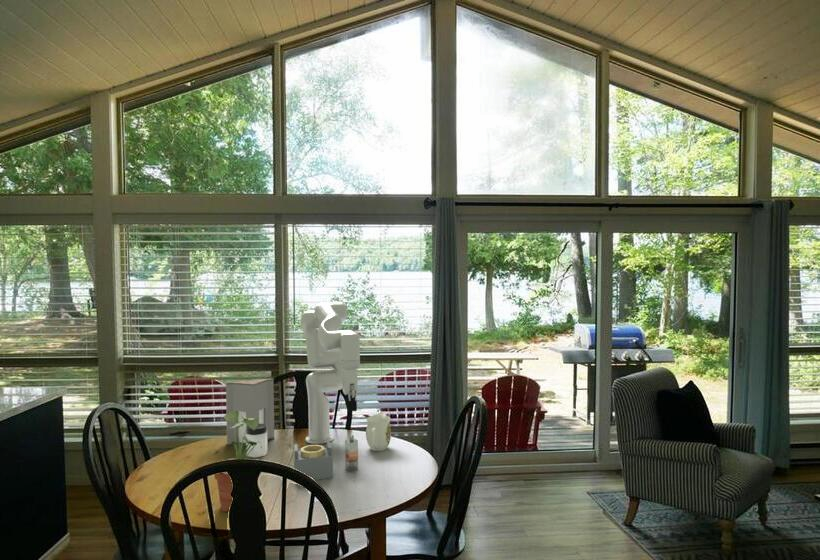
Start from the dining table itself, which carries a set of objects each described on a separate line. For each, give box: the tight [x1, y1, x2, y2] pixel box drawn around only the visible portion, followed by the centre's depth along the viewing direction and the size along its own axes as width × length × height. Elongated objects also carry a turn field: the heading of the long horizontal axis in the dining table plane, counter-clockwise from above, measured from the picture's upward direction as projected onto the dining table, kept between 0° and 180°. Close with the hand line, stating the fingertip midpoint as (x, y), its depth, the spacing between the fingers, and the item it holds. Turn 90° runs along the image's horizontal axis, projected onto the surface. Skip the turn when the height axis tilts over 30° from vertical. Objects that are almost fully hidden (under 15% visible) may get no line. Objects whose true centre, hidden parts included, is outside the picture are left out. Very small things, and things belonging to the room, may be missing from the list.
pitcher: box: [365, 412, 392, 452], centre depth 224 cm, size 11×18×14 cm, turn 169°
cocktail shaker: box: [344, 434, 359, 472], centre depth 201 cm, size 5×5×13 cm
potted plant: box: [214, 412, 261, 512], centre depth 171 cm, size 16×15×35 cm
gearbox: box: [293, 441, 334, 481], centre depth 196 cm, size 10×14×11 cm
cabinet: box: [225, 378, 275, 447], centre depth 234 cm, size 21×10×28 cm, turn 114°
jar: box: [245, 424, 268, 459], centre depth 220 cm, size 9×8×12 cm
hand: (351, 408), depth 201 cm, fingers open, 9 cm apart
